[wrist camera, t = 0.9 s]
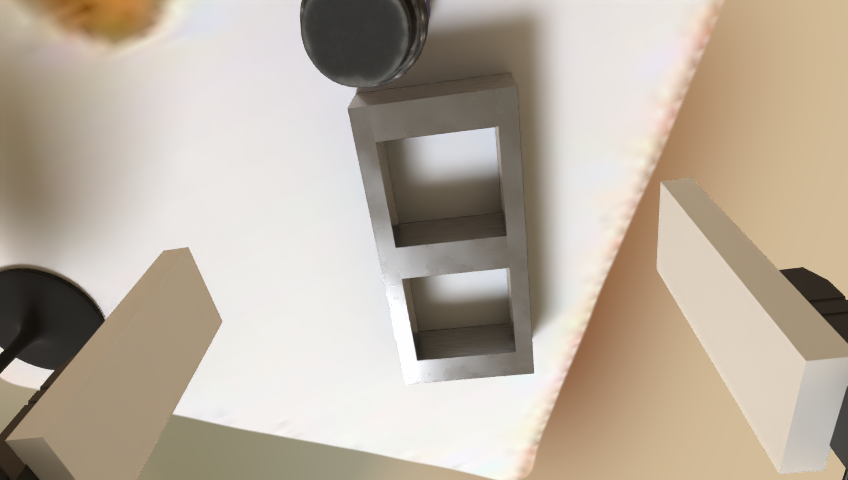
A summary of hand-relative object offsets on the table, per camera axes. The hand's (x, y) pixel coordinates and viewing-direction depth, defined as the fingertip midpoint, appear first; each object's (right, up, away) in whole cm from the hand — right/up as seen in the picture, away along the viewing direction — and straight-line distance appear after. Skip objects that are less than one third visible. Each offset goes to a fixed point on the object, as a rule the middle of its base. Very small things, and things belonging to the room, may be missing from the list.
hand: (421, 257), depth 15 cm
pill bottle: (-3, +15, +18) cm, 23 cm away
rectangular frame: (+2, +1, +25) cm, 25 cm away
